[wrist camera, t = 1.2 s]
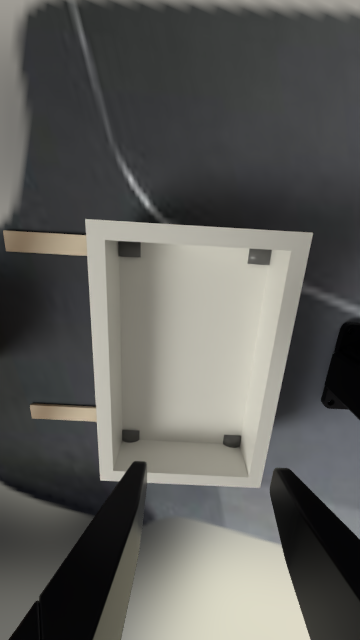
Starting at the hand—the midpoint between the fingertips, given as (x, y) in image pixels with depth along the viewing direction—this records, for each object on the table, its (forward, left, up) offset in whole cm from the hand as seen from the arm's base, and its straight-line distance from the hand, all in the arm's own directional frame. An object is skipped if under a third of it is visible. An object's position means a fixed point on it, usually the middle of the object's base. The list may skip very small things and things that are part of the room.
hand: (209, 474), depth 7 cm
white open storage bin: (+1, 0, -10) cm, 10 cm away
